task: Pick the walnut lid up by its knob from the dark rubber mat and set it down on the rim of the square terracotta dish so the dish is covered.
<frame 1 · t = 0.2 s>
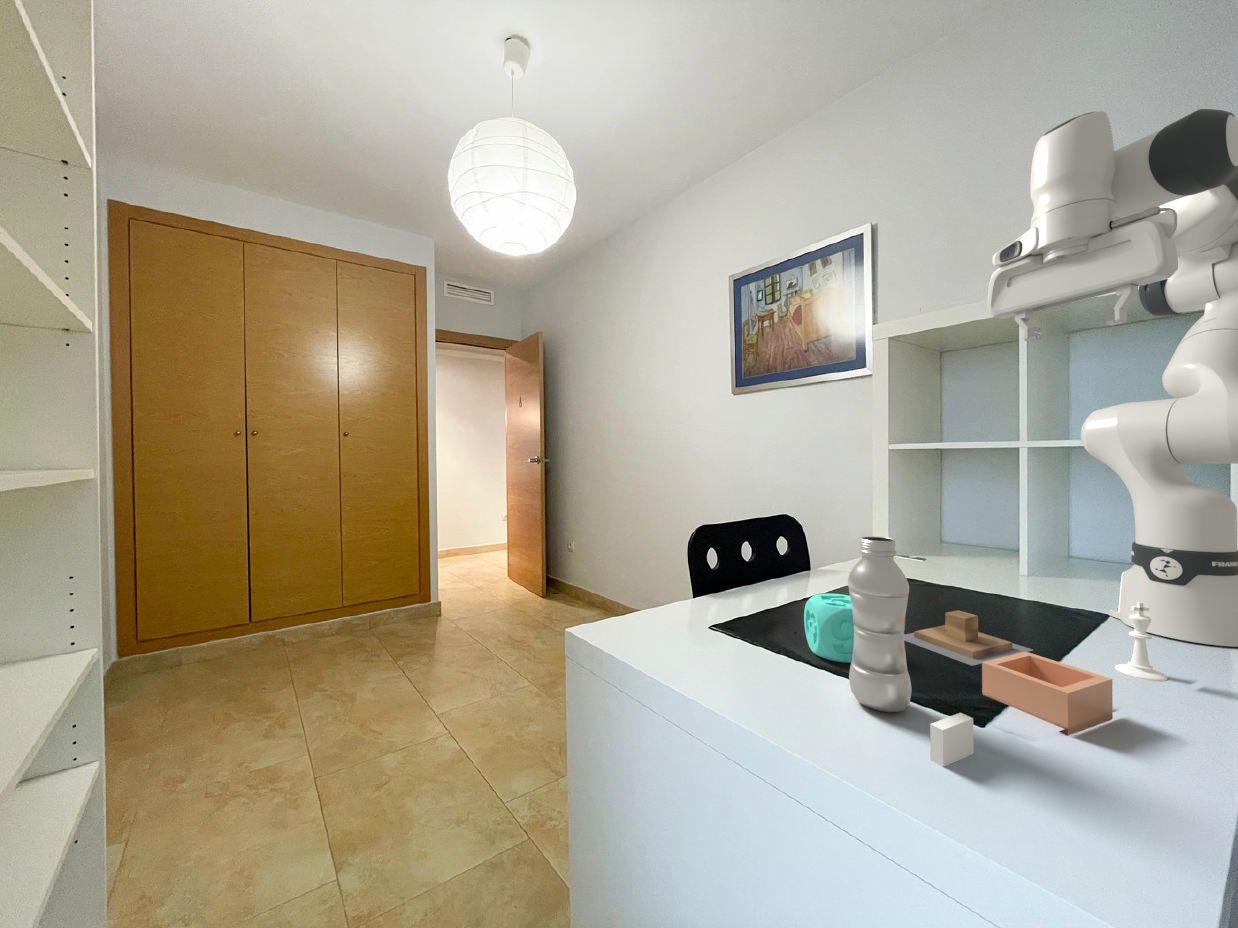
hand: (1071, 332, 69), 47 cm above the table, fingers open, 8 cm apart
chess piece: (1140, 678, 64), on the table
eraser: (952, 759, 48), on the table
decorative dice: (838, 653, 74), on the table
dish: (1044, 708, 56), on the table
mat: (961, 646, 75), on the table
plastic bottle: (879, 706, 58), on the table
lid: (961, 642, 75), point 1 cm above the table, touching mat
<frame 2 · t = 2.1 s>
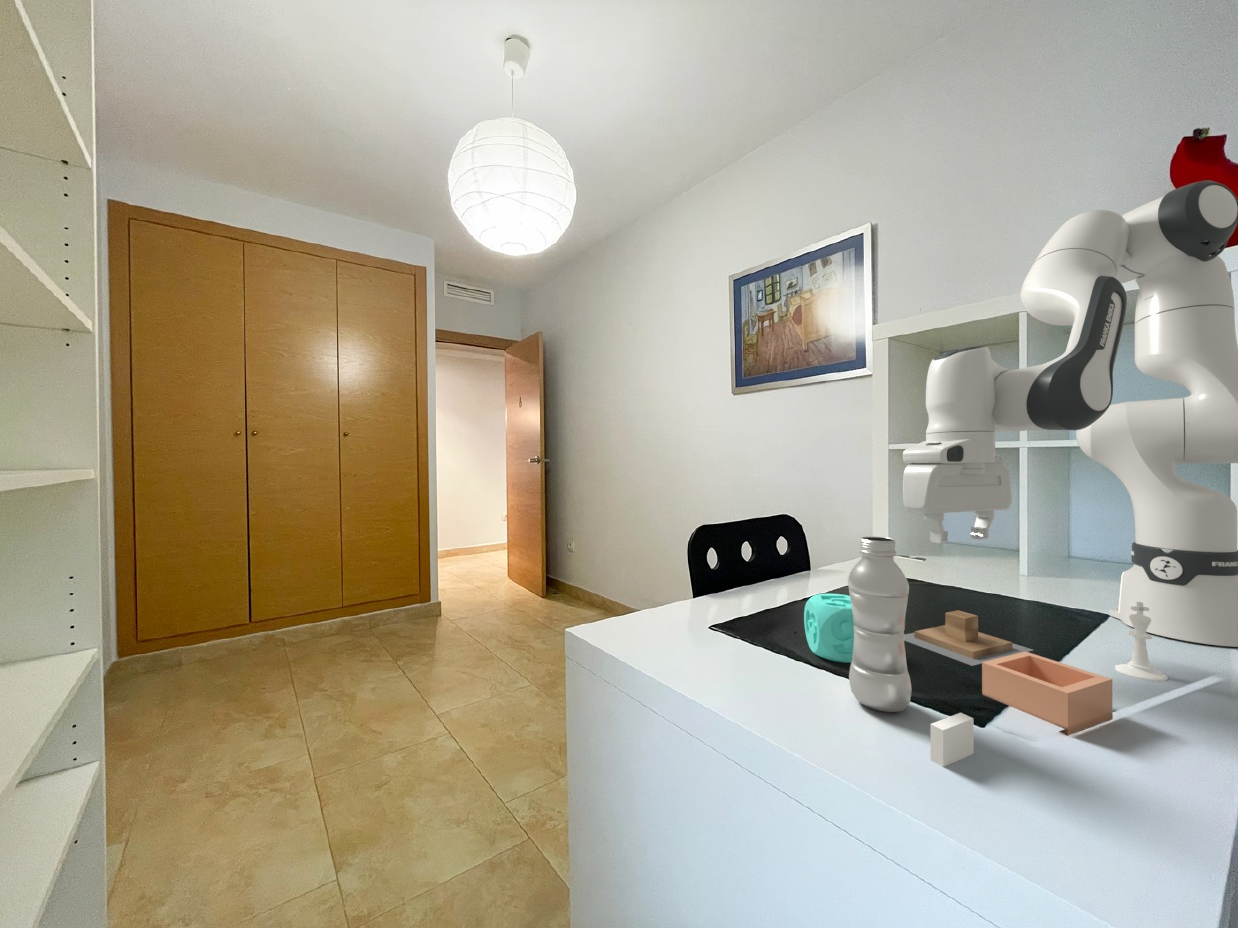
hand: (959, 540, 75), 17 cm above the table, fingers open, 8 cm apart
nothing on the table moved.
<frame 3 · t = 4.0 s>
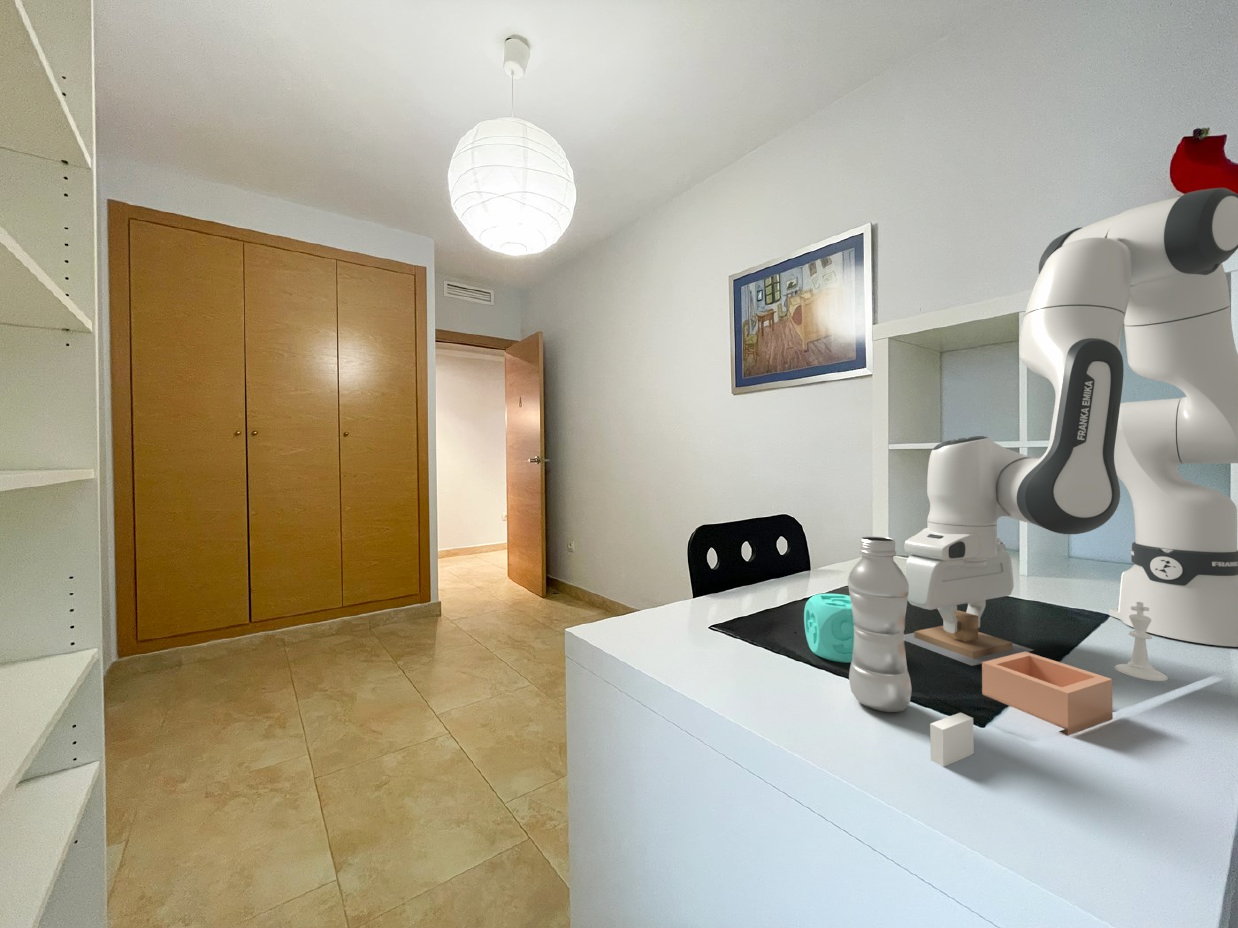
hand: (961, 629, 75), 3 cm above the table, fingers closed on lid, 3 cm apart
lid: (961, 642, 75), point 1 cm above the table, touching gripper, mat
everything else where it was.
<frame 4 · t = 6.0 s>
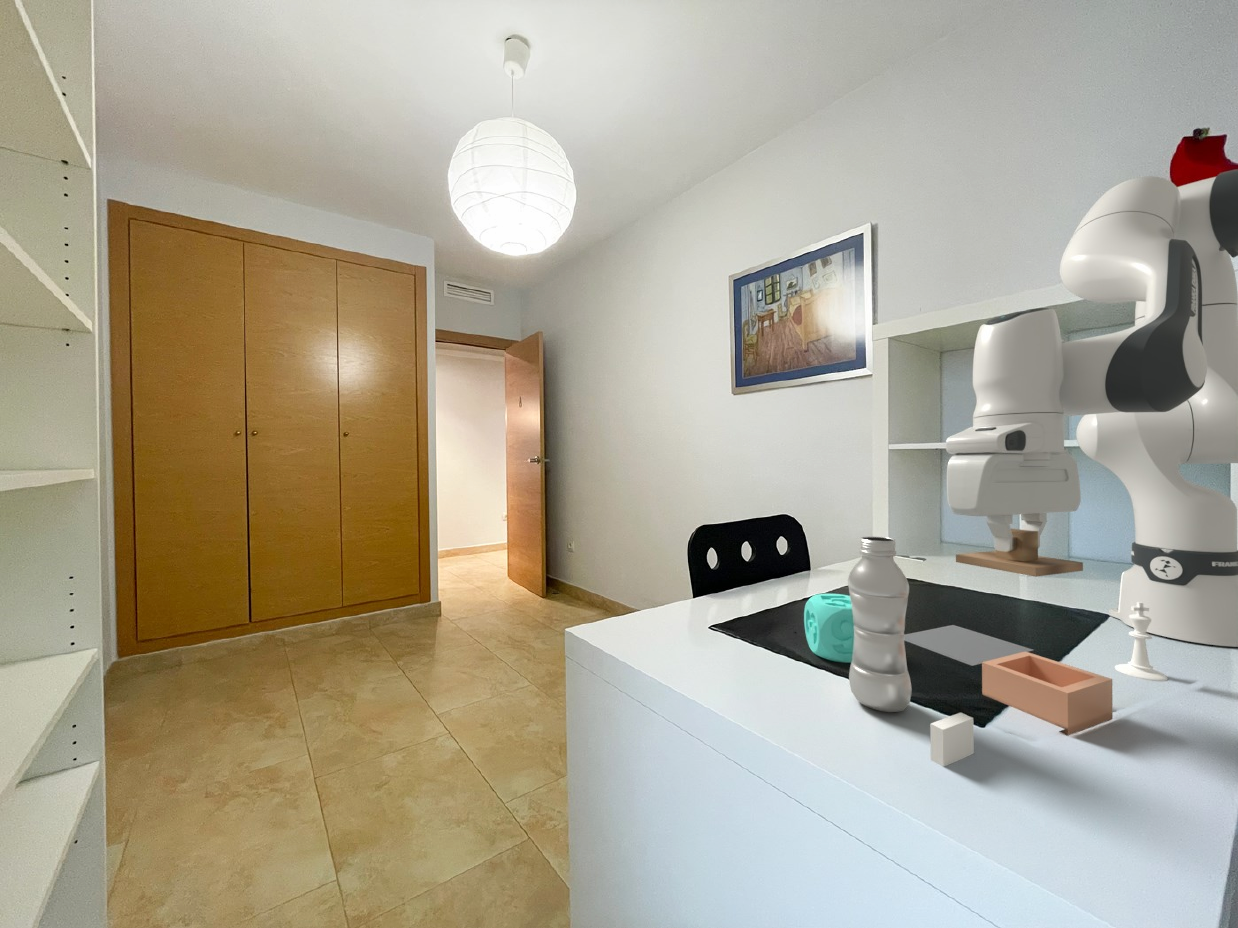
hand: (1017, 549, 60), 18 cm above the table, fingers closed on lid, 3 cm apart
lid: (1016, 566, 60), point 16 cm above the table, touching gripper
everything else where it was.
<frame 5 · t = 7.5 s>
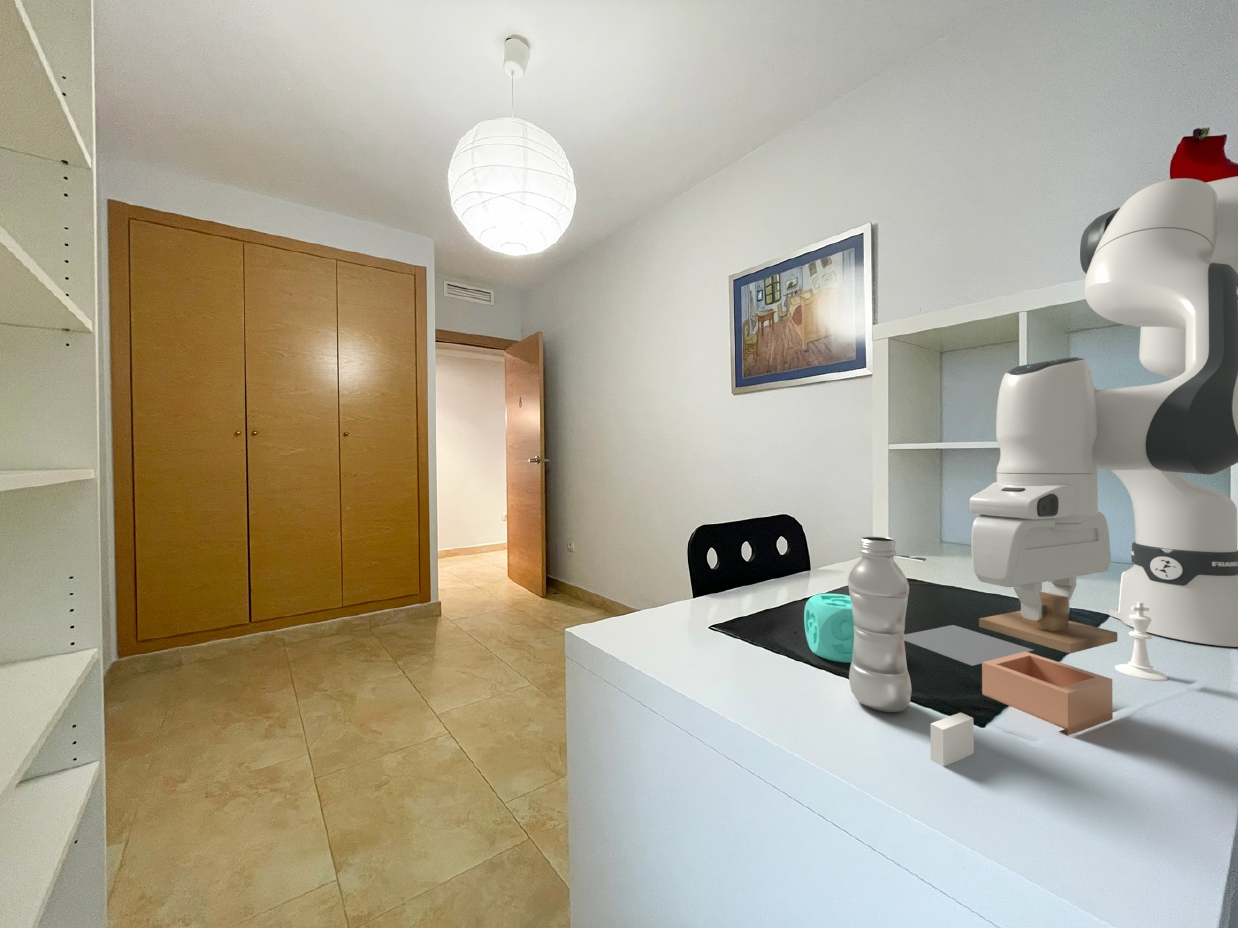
hand: (1045, 616, 56), 11 cm above the table, fingers closed on lid, 3 cm apart
lid: (1045, 633, 56), point 9 cm above the table, touching gripper
everything else where it was.
when the fingers open (7 cm above the table, at t = 8.4 s): lid stays where it is, resting on dish.
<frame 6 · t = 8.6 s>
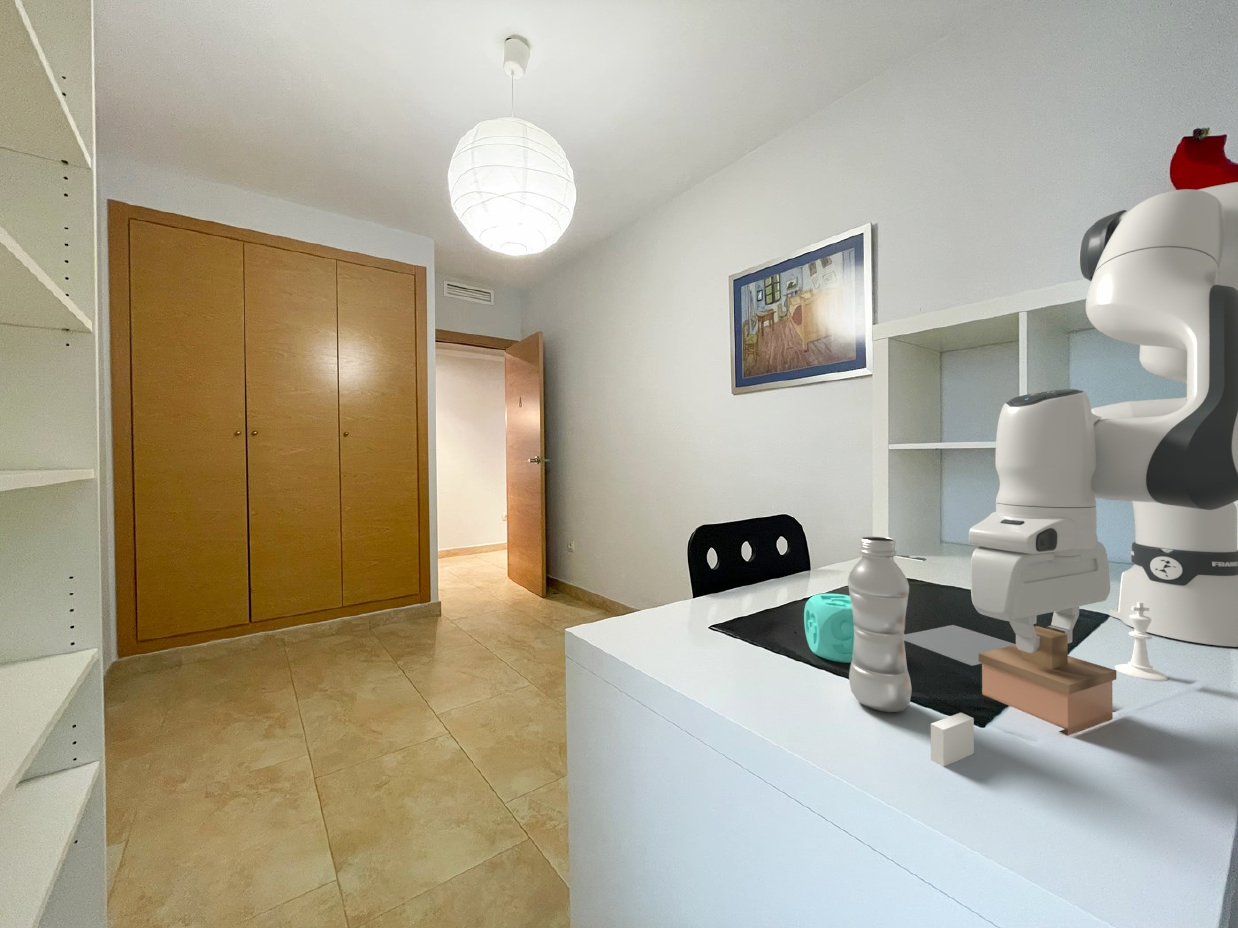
hand: (1044, 646, 56), 7 cm above the table, fingers open, 5 cm apart
lid: (1044, 669, 56), point 4 cm above the table, touching dish
everything else where it was.
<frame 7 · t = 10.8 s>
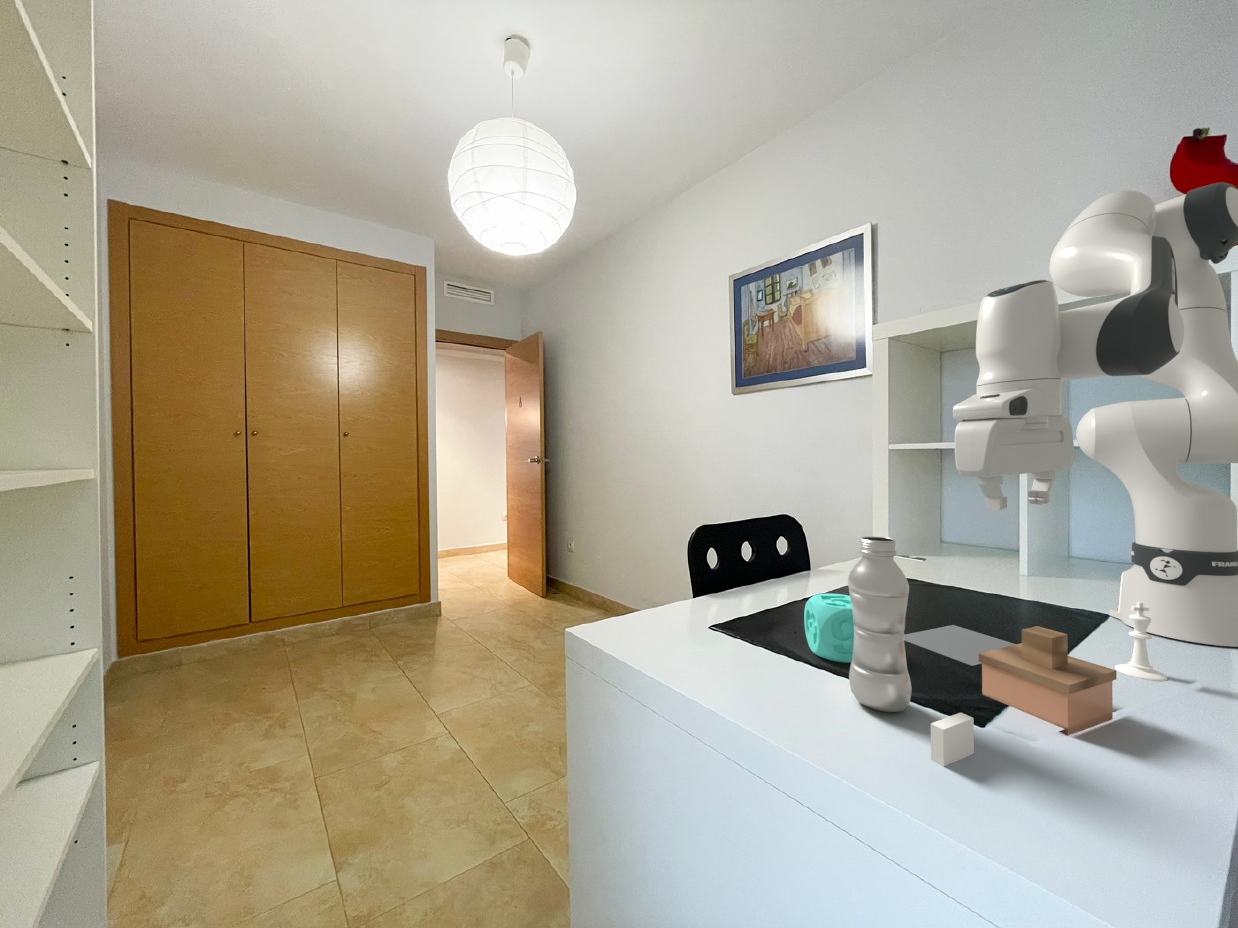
hand: (1018, 506, 65), 23 cm above the table, fingers open, 8 cm apart
nothing on the table moved.
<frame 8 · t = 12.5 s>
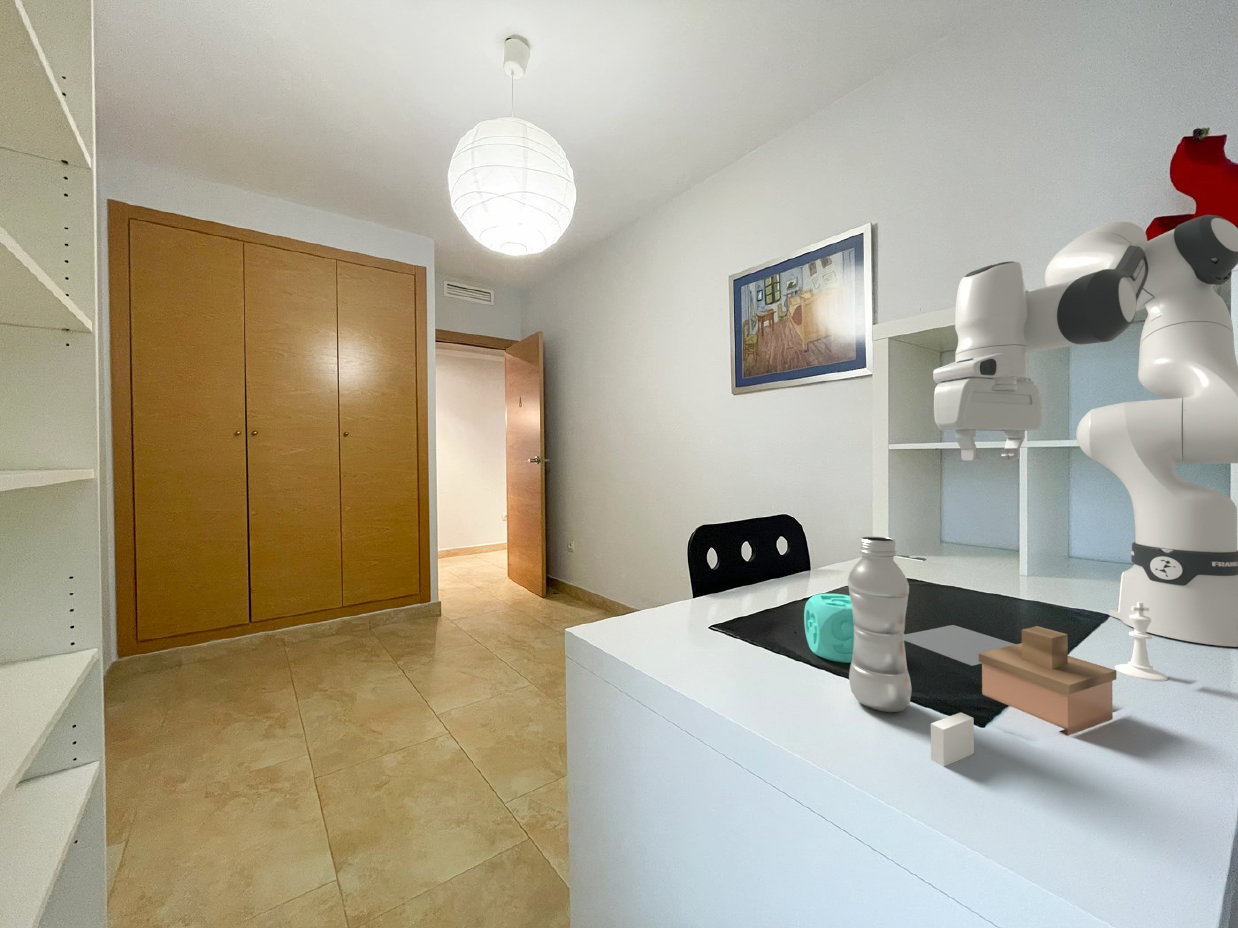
hand: (990, 460, 74), 29 cm above the table, fingers open, 8 cm apart
nothing on the table moved.
at the end: lid 0.1 cm off-centre on the dish, point 4.5 cm above the dish's base; lid tilted 0°; the gripper is holding nothing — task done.
